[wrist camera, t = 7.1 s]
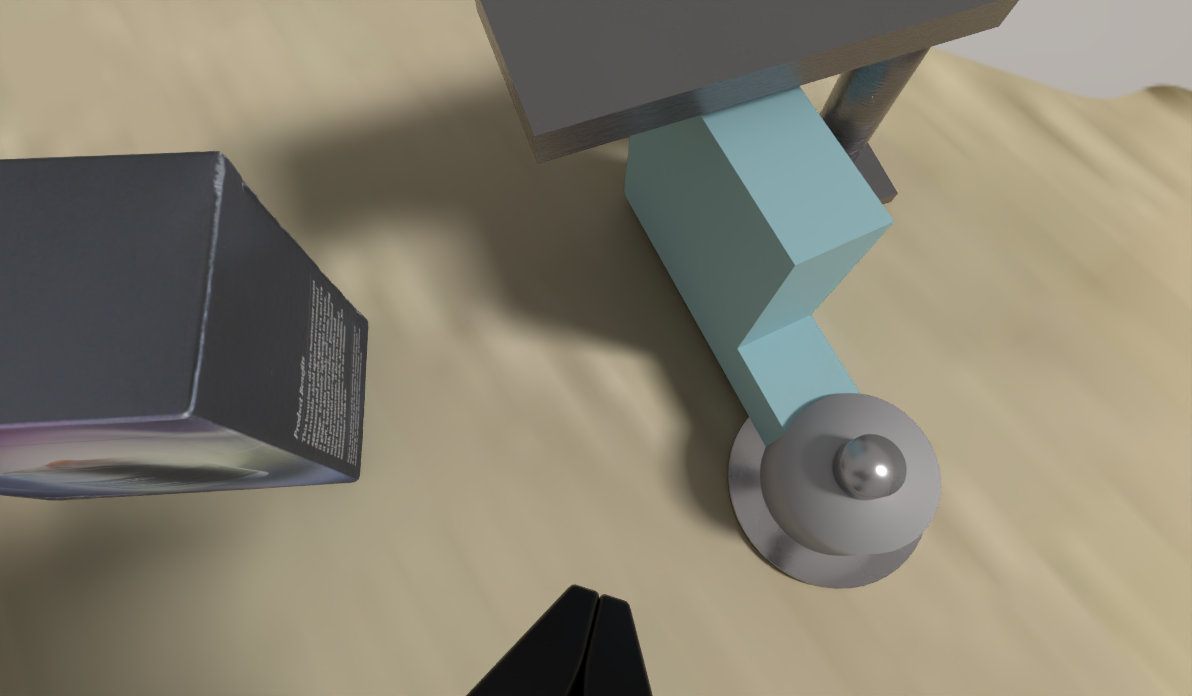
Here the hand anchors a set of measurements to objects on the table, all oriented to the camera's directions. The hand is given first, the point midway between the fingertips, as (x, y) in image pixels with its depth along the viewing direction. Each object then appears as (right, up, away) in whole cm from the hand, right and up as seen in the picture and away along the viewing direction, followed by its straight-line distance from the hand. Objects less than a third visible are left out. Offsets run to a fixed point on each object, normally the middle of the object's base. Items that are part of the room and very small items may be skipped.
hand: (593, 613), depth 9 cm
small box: (-13, +2, +14) cm, 19 cm away
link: (+6, +4, +14) cm, 16 cm away
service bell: (+8, -1, +13) cm, 15 cm away
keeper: (+4, +9, +17) cm, 19 cm away
